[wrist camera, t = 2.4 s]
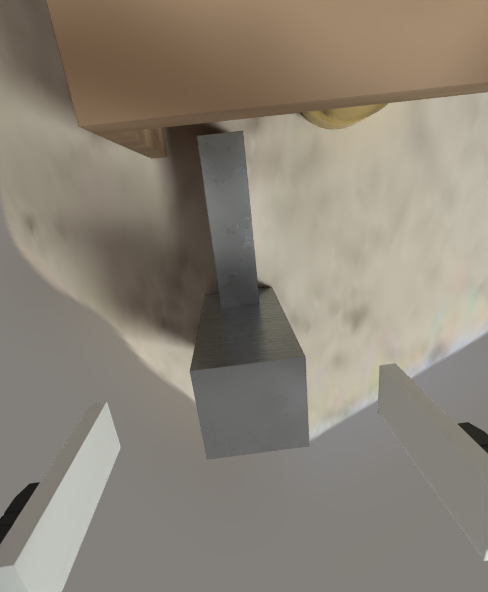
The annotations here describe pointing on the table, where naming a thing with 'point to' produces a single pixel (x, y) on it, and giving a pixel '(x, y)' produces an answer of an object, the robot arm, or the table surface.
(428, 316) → the table surface
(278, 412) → the grey toy mallet
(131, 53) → the brown piece
